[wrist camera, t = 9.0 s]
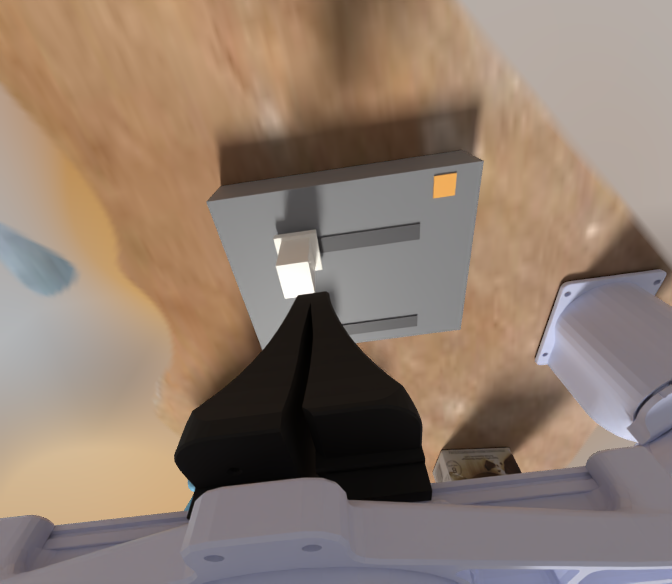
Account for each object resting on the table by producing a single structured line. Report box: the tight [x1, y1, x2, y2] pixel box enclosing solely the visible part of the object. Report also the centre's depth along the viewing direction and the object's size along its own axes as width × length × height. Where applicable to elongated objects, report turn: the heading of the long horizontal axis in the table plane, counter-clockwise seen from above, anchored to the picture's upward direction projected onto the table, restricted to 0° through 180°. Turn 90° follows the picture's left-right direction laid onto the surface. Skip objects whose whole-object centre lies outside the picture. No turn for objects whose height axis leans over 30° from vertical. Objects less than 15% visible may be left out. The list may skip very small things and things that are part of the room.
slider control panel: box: [207, 150, 484, 350], centre depth 21 cm, size 12×15×3 cm
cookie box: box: [433, 448, 521, 483], centre depth 34 cm, size 9×6×16 cm
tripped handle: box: [274, 229, 322, 299], centre depth 17 cm, size 2×2×3 cm
